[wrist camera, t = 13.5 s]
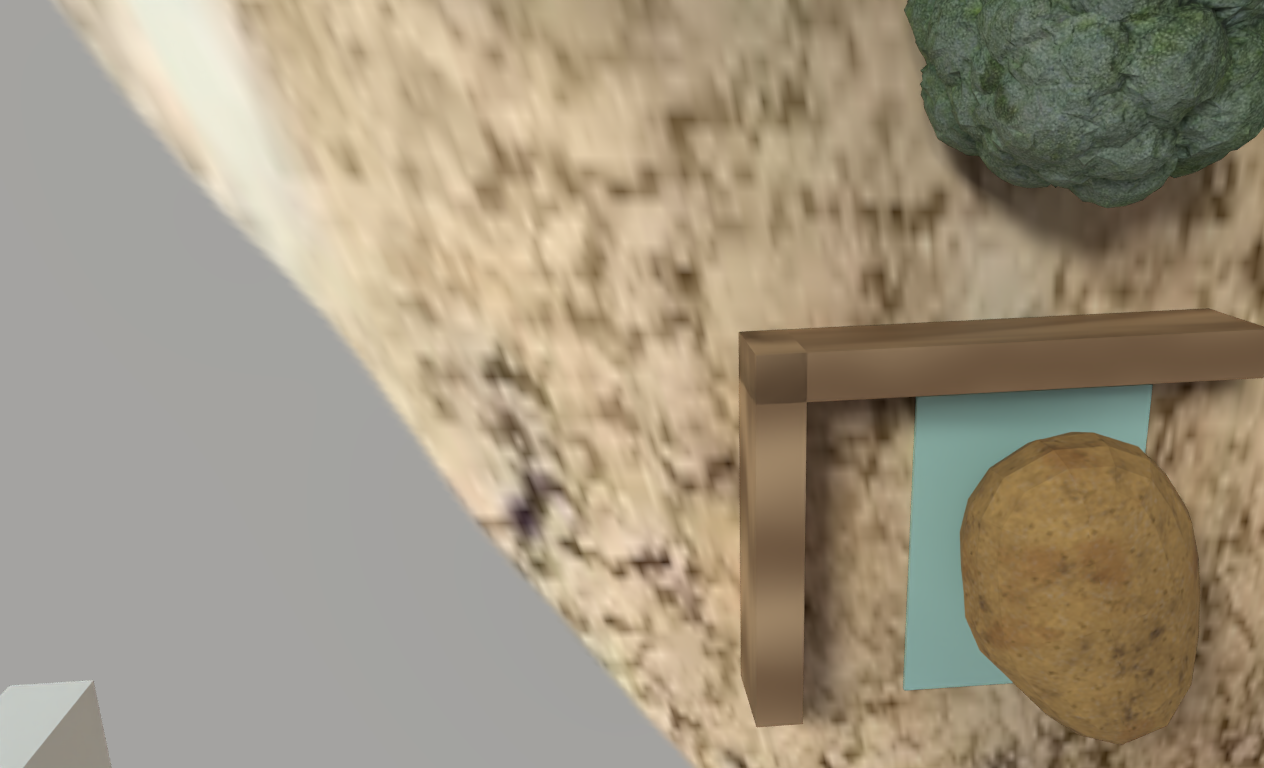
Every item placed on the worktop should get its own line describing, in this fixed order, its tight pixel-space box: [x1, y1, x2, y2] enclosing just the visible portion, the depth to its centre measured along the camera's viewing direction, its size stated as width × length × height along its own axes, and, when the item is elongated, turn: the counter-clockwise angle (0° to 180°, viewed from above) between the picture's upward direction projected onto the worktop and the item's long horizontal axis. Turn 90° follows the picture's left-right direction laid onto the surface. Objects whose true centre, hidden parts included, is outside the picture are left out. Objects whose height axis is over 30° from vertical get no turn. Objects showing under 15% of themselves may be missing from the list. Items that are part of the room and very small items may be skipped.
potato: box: [960, 432, 1200, 745], centre depth 42 cm, size 10×14×8 cm
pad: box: [903, 384, 1153, 690], centre depth 46 cm, size 14×10×1 cm
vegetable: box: [904, 0, 1264, 208], centre depth 36 cm, size 12×13×15 cm
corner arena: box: [739, 309, 1264, 727], centre depth 44 cm, size 16×20×4 cm
